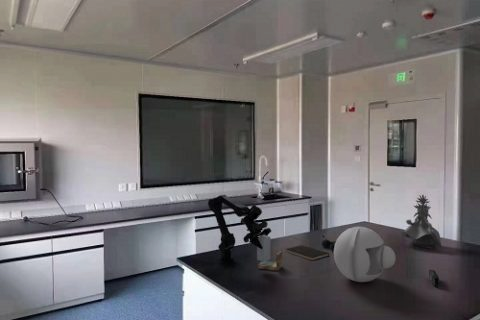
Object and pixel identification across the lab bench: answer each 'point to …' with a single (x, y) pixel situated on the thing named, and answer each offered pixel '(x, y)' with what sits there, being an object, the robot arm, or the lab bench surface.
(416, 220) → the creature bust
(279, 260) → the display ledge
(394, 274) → the lab bench surface
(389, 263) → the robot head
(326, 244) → the headset
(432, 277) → the mobile phone
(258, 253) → the grey tapered block
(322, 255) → the hardcover book
